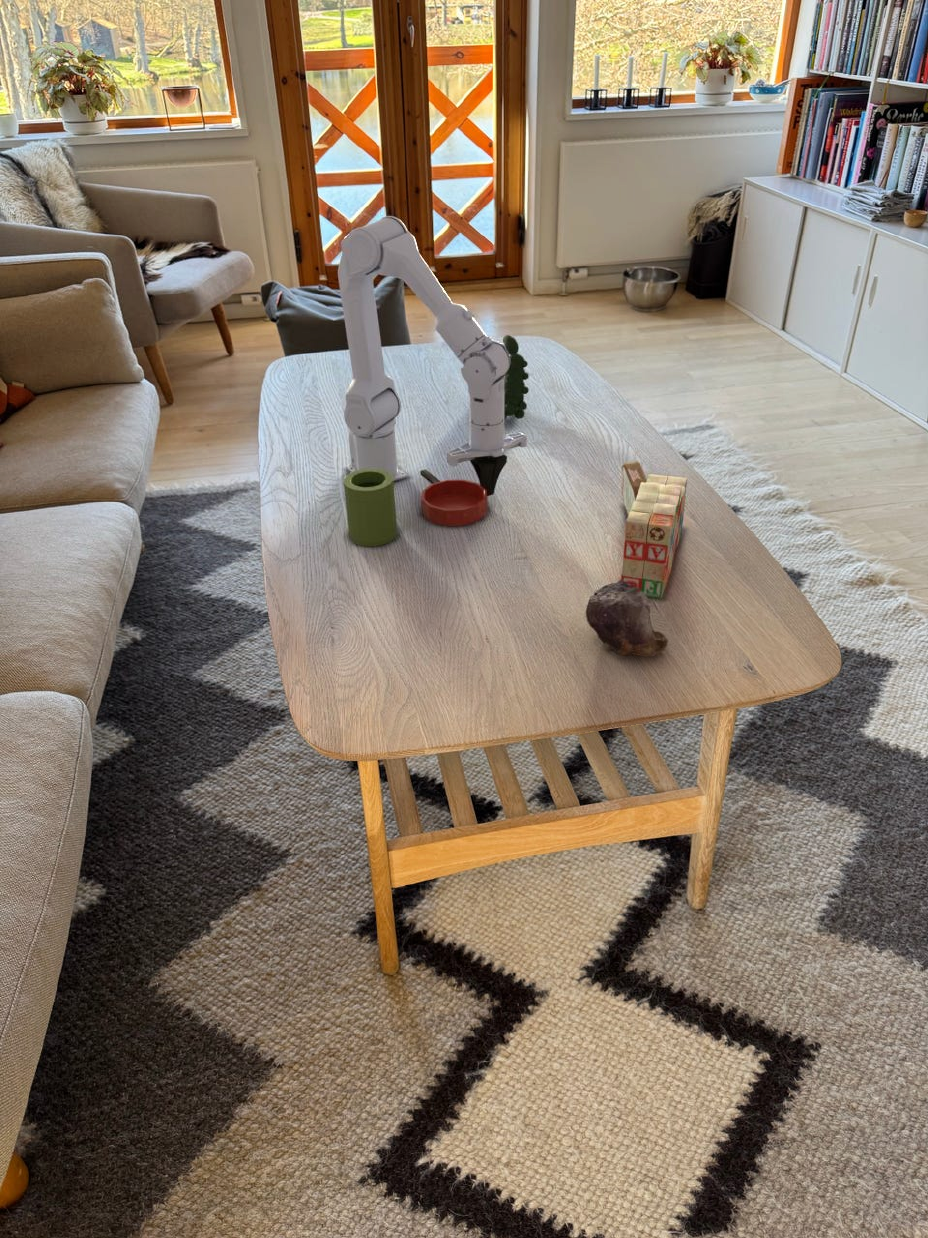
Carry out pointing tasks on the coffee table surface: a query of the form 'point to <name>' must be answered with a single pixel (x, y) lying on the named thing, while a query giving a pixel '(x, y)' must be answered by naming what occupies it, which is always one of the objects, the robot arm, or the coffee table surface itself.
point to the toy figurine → (514, 380)
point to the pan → (453, 501)
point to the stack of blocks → (653, 533)
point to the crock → (370, 506)
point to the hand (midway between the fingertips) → (487, 493)
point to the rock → (624, 620)
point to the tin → (631, 483)
